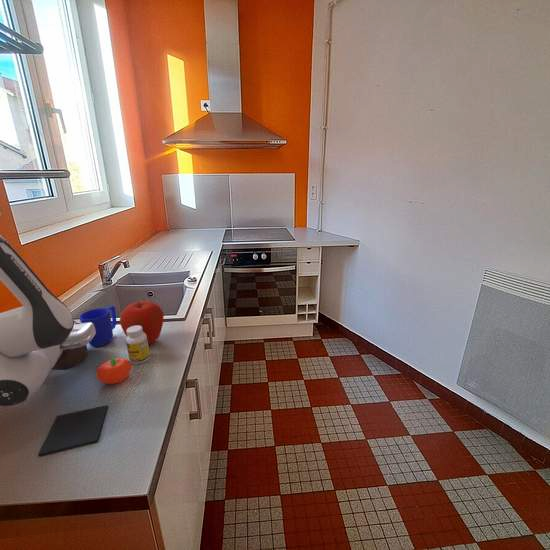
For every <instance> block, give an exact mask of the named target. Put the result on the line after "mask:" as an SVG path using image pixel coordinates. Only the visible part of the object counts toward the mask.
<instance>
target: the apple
mask: <svg viewBox="0 0 550 550" xmlns="http://www.w3.org/2000/svg"><path fill="white" fill-rule="evenodd" d="M164 315H165V313H164V311H163V310H162V308H161V306H160V305H159V304H158V303H155V302H153V301H150V300H149V301H147V300H146V301H136V302H133V303H131V304H129V305H126V307H125V308H124V309H123V311H122V312H120V316H119V324H120V328H121V329H122V331H123V333H124V335H125V336H126V337H127V336H128V335H127V331H126V330H127V329H128V328H129V327H131V326H135V325H139V326H142V329H143V332H144V333H145V334H146V336H147V341H148V345H151V344H153V343H154V342H155V341H156V340H157V339H158V338H160V336H161V334H162V333H161V332H162V329H163V325H164V319H165V318H164V317H165V316H164Z"/></svg>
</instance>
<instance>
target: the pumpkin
mask: <svg viewBox="0 0 550 550" xmlns="http://www.w3.org/2000/svg"><path fill="white" fill-rule="evenodd" d="M132 367H133V363H131V362H130V359H129V360H128V359H127V358H120V357H119V358H110V359H109V360H107V361H105V362H104V363H102V364H101V365H99V366H98V368H96V369H97V370H96V372H95V374H96V378H97V380H98V381H100V383H103V384H107V385H113V384H118V383H121V382H123V381H124V380H125V379H126V378H127V377H129V375H130V373H131V371H132Z"/></svg>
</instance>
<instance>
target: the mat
mask: <svg viewBox="0 0 550 550" xmlns="http://www.w3.org/2000/svg"><path fill="white" fill-rule="evenodd" d="M108 408H109V405H108V404H105V405H101V406H95V407H92V408H87V409H82V410H77V411H74V412H69V413H63V414H60V415H57V416H56V417H55V419H54V421H53V423H52V425H51V427H50V429H49V431H48V433H47V435H46V437H45V439H44V440H43V444H42V445H41V448H40V449H39V452H38V453H37V456H38V457H42V456H46V455H50V454H54V453H59V452H63V451H67V450H71V449H75V448H79V447H83V446H87V445H92V444H95V443H98V442H99V439H100V436H101V432H102V429H103V425H104V422H105V418H106V416H107V413H108Z"/></svg>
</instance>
